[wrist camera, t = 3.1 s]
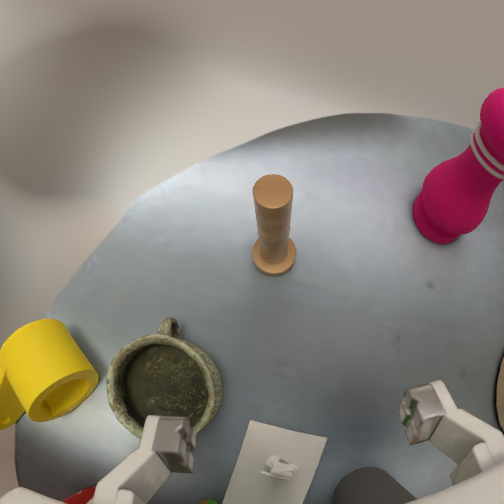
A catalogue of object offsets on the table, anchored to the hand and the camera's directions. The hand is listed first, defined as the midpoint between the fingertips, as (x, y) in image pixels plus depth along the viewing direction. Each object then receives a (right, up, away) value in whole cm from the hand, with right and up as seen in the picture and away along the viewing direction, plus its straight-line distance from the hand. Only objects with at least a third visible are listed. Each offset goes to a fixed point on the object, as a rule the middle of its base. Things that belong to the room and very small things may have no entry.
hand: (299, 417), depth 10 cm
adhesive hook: (0, -14, +13) cm, 19 cm away
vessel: (-8, -6, +16) cm, 19 cm away
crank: (-26, -7, +14) cm, 30 cm away
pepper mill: (+18, +10, +20) cm, 29 cm away
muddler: (0, +6, +20) cm, 21 cm away
